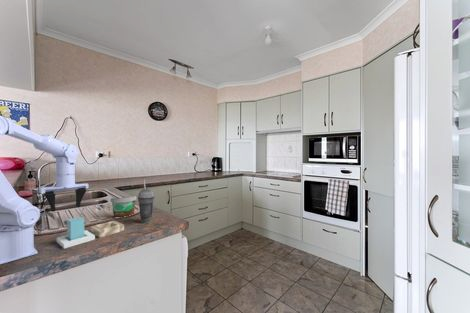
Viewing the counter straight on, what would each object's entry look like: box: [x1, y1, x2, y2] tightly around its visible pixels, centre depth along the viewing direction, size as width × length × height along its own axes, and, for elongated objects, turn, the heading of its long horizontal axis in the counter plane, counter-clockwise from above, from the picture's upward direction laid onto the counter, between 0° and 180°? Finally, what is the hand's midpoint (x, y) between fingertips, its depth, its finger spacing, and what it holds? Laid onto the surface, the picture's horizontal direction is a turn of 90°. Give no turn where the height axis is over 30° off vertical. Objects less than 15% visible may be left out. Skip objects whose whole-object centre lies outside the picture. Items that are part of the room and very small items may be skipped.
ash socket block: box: [90, 220, 125, 239], centre depth 82 cm, size 9×9×2 cm
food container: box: [110, 195, 138, 218], centre depth 101 cm, size 12×6×10 cm, turn 105°
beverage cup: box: [137, 179, 155, 224], centre depth 94 cm, size 7×7×20 cm
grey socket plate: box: [56, 229, 96, 249], centre depth 73 cm, size 9×9×2 cm
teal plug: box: [66, 216, 85, 241], centre depth 73 cm, size 4×4×8 cm
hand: (66, 208), depth 78 cm, fingers open, 7 cm apart
